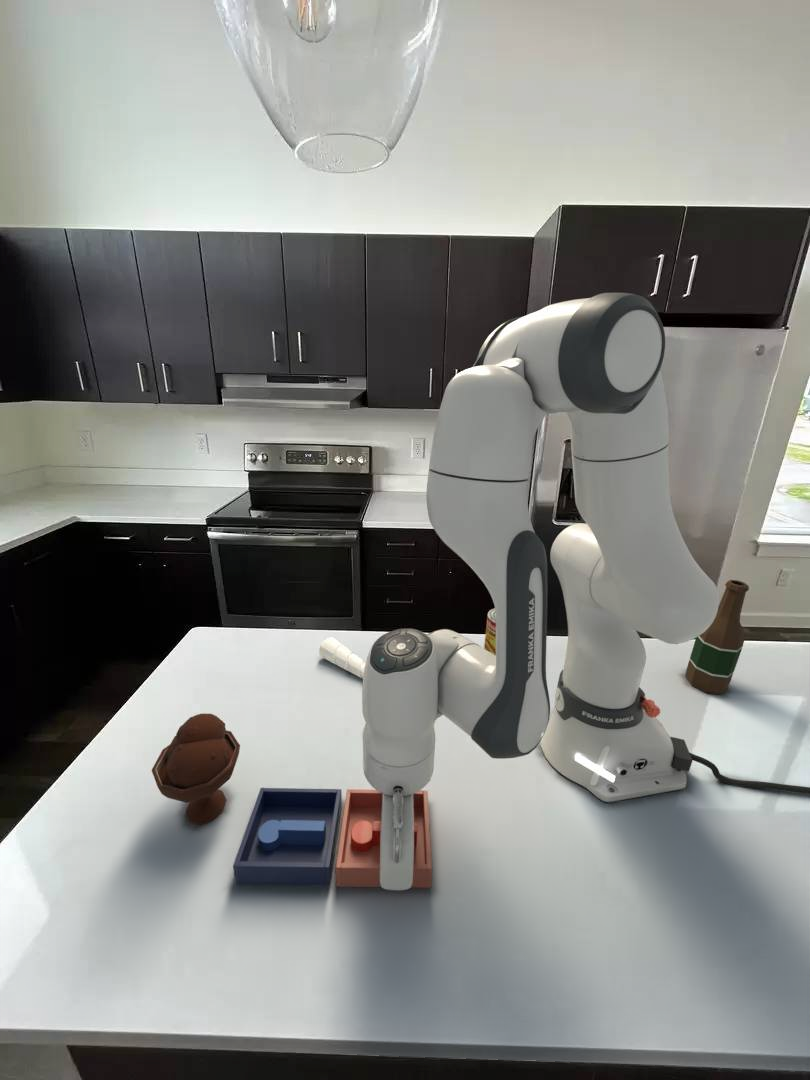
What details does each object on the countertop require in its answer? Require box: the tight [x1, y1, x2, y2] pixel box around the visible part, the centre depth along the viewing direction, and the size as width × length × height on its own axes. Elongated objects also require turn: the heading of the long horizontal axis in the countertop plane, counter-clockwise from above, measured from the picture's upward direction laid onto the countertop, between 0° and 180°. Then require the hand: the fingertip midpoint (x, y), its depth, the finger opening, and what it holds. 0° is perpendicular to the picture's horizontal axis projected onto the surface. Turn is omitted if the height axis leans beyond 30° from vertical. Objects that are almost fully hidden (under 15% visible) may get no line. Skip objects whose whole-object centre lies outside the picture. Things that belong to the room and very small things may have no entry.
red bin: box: [335, 788, 433, 889], centre depth 57 cm, size 12×11×4 cm
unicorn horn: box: [318, 637, 366, 680], centre depth 90 cm, size 5×24×5 cm, turn 49°
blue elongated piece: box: [258, 820, 326, 851], centre depth 57 cm, size 9×3×3 cm, turn 90°
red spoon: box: [351, 821, 417, 852], centre depth 57 cm, size 9×3×3 cm, turn 90°
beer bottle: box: [684, 579, 750, 696], centre depth 87 cm, size 8×8×24 cm
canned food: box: [483, 607, 496, 655], centre depth 95 cm, size 8×8×12 cm
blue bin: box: [232, 787, 343, 887], centre depth 57 cm, size 12×11×4 cm
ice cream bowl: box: [151, 713, 241, 826], centre depth 60 cm, size 11×11×15 cm
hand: (396, 833), depth 57 cm, fingers open, 5 cm apart
